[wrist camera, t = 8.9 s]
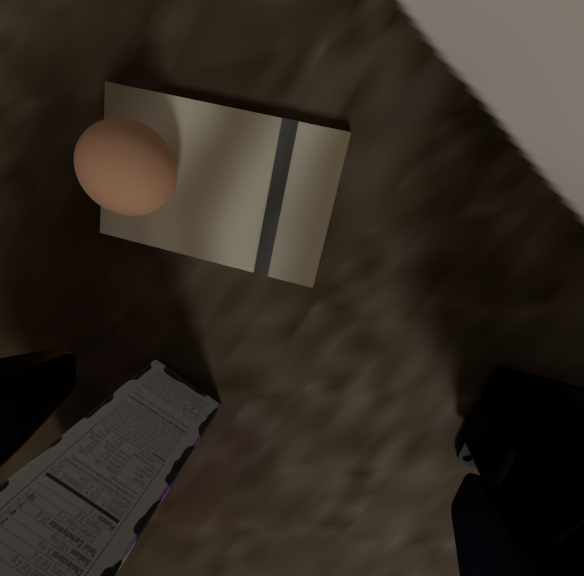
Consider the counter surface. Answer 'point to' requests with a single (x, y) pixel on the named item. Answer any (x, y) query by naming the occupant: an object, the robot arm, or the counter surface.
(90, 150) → the ball
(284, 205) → the board
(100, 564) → the candy box
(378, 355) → the counter surface
